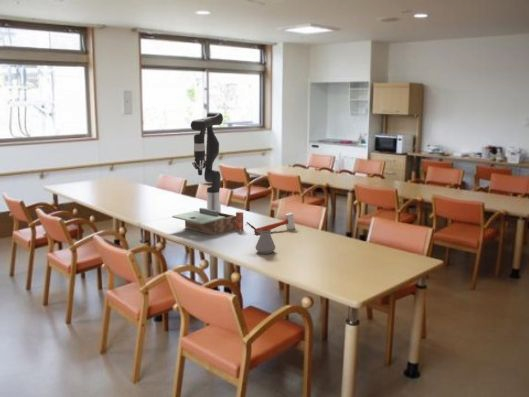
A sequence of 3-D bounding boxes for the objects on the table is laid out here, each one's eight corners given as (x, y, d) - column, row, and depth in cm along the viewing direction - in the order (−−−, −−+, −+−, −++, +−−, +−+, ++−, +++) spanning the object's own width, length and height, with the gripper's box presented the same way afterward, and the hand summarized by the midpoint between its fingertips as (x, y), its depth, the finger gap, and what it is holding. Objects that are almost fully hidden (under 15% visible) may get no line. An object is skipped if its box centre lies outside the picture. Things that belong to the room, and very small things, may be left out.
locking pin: (239, 229, 352) (239, 211, 350) (243, 229, 350) (243, 212, 348) (236, 230, 350) (236, 212, 347) (239, 230, 347) (239, 213, 345)
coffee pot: (279, 252, 302) (279, 226, 299) (265, 256, 294) (265, 230, 291) (253, 244, 316) (253, 220, 313) (239, 248, 308) (239, 223, 305)
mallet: (255, 225, 336) (293, 213, 351) (252, 224, 339) (290, 212, 354) (257, 241, 339) (295, 228, 354) (255, 239, 342) (292, 227, 357)
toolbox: (206, 222, 370) (206, 209, 368) (236, 229, 352) (236, 215, 350) (185, 227, 355) (184, 214, 353) (214, 235, 337) (214, 221, 335)
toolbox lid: (196, 212, 360) (196, 206, 360) (225, 218, 343) (225, 212, 342) (172, 217, 345) (172, 211, 344) (201, 224, 327) (201, 218, 326)
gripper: (202, 148, 365) (203, 173, 368) (188, 150, 355) (189, 175, 358) (210, 149, 360) (210, 174, 364) (196, 151, 350) (196, 177, 354)
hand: (200, 175), depth 361 cm, fingers closed
